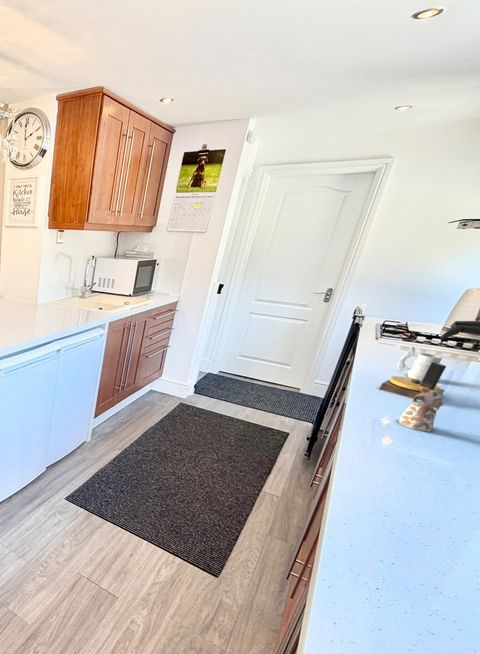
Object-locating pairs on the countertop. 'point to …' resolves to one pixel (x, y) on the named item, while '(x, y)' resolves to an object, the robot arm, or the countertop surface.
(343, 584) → the countertop surface
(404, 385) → the wheel
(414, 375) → the mug
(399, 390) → the wheel base
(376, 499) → the countertop surface
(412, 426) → the figurine
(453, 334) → the robot arm
